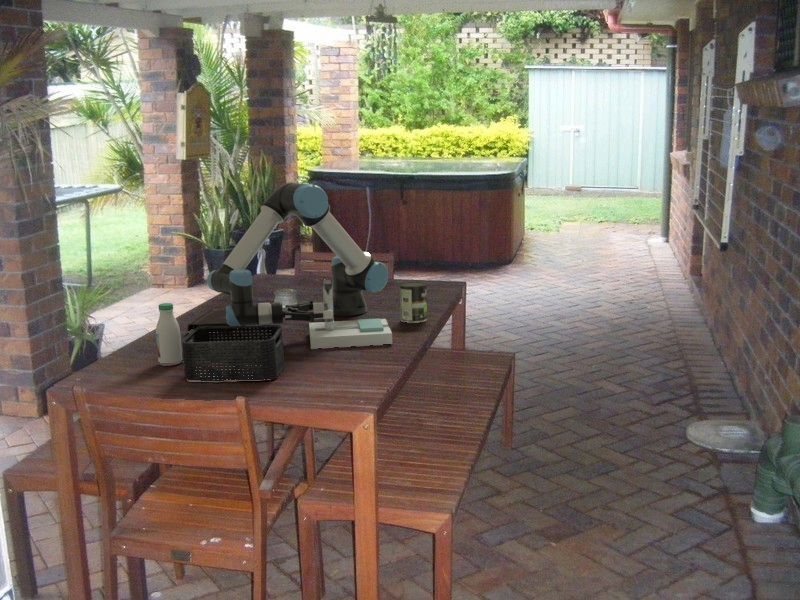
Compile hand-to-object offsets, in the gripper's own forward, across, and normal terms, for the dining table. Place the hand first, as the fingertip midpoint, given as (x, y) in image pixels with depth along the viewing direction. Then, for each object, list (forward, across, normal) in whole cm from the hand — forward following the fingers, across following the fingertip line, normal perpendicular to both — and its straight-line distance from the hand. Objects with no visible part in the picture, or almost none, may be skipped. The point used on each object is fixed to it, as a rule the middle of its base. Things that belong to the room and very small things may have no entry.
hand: (332, 310), depth 321 cm
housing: (+6, 0, -11) cm, 12 cm away
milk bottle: (-54, +19, -11) cm, 58 cm away
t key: (-1, 0, -10) cm, 10 cm away
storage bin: (-32, +35, -11) cm, 49 cm away
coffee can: (+32, -23, -11) cm, 41 cm away
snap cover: (+13, 0, -7) cm, 15 cm away
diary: (-41, -30, -12) cm, 52 cm away
